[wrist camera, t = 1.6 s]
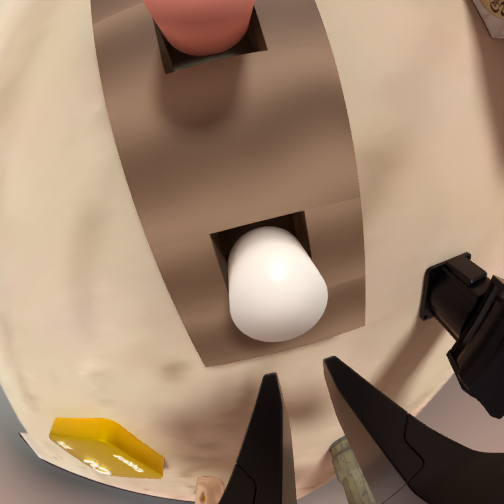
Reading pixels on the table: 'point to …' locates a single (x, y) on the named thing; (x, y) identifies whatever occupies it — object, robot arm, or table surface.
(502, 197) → the table surface
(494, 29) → the coffee box
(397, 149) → the table surface
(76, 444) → the element tile
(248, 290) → the pin
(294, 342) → the pin block
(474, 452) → the robot arm
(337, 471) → the thermos
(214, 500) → the cup with straw
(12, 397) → the table surface
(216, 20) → the pink rounded block
